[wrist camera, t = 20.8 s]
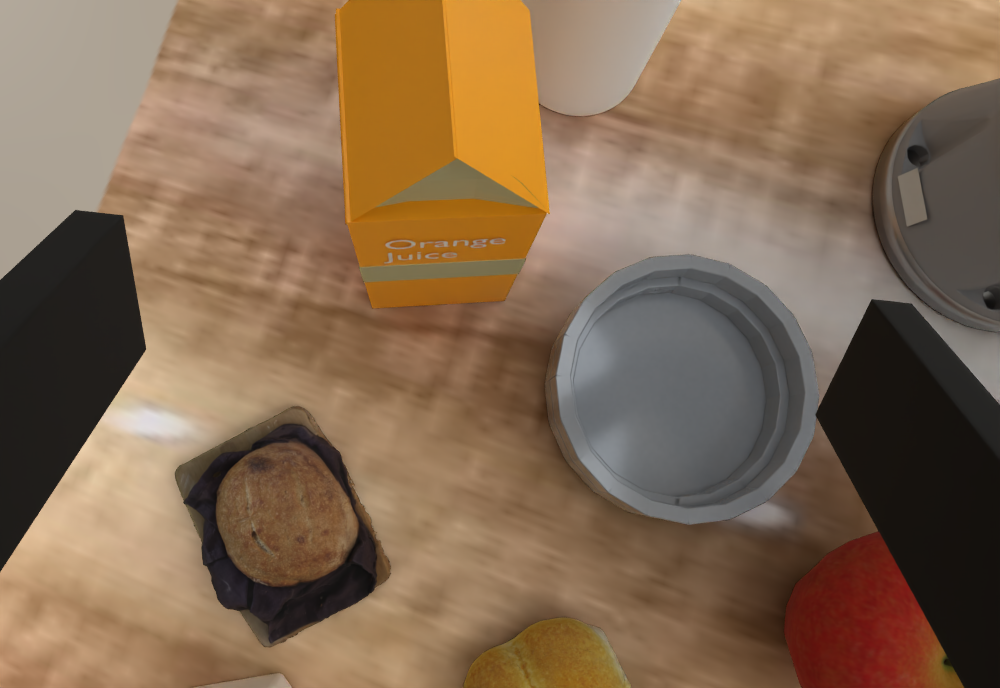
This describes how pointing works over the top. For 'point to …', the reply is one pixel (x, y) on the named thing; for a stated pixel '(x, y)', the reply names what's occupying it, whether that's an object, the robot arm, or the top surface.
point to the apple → (862, 625)
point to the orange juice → (439, 147)
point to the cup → (593, 49)
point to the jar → (254, 682)
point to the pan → (682, 390)
